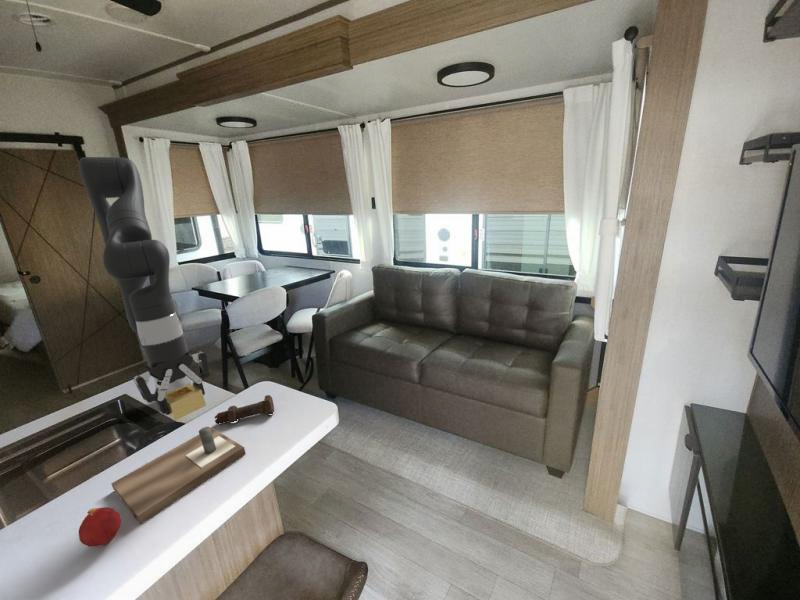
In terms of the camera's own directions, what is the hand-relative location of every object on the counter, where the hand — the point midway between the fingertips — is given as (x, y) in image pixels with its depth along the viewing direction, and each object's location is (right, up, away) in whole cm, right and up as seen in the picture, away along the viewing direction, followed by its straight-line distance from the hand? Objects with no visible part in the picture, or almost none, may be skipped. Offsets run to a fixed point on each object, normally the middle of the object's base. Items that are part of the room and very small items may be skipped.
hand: (184, 405), depth 79 cm
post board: (-2, -16, +2) cm, 16 cm away
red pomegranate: (-5, -21, -14) cm, 26 cm away
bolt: (+5, -10, +21) cm, 24 cm away
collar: (0, -1, 0) cm, 1 cm away
